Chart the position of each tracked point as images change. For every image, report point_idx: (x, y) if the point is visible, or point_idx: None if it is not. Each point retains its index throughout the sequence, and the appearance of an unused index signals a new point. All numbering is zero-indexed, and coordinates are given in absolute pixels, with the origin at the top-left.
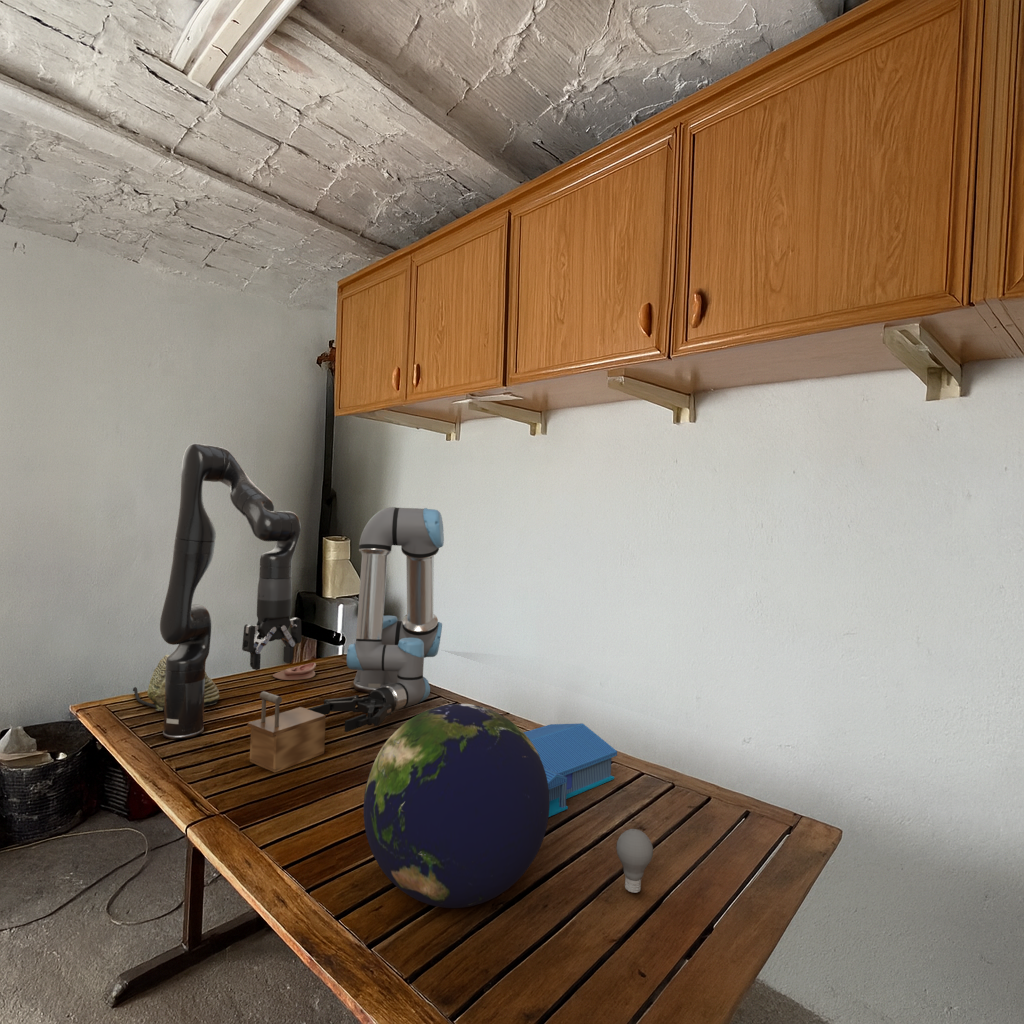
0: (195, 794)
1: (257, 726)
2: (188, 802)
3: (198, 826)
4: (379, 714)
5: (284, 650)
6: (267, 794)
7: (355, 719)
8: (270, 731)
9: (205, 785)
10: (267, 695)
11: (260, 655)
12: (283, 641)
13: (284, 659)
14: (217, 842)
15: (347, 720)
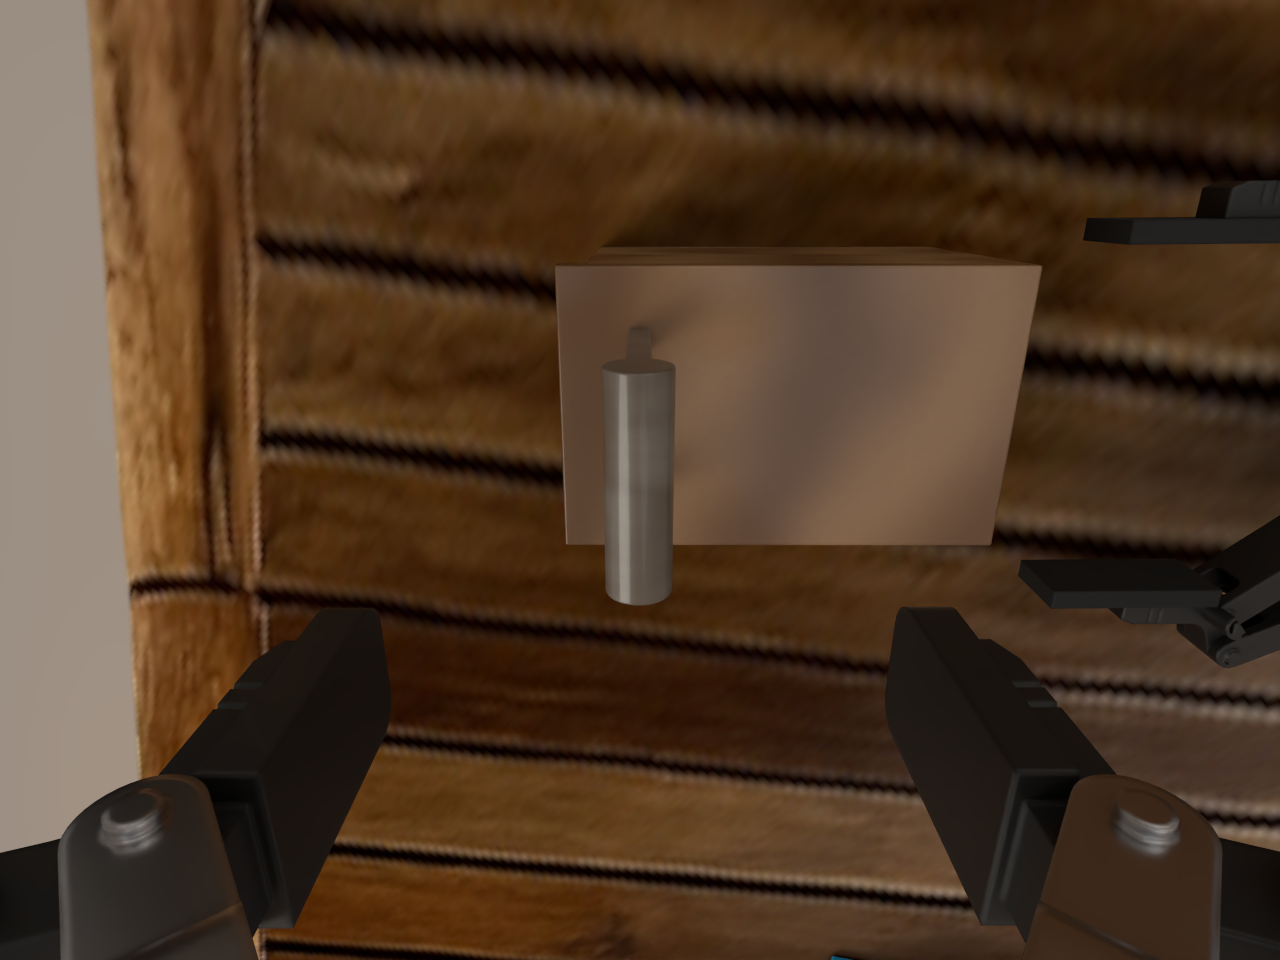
0: (240, 378)
1: (561, 383)
2: (190, 424)
3: (158, 617)
4: (1264, 650)
5: (975, 730)
6: (462, 598)
7: (1118, 604)
8: (565, 520)
9: (309, 328)
10: (612, 477)
11: (304, 898)
12: (1044, 894)
13: (908, 642)
14: (173, 740)
15: (1066, 599)
